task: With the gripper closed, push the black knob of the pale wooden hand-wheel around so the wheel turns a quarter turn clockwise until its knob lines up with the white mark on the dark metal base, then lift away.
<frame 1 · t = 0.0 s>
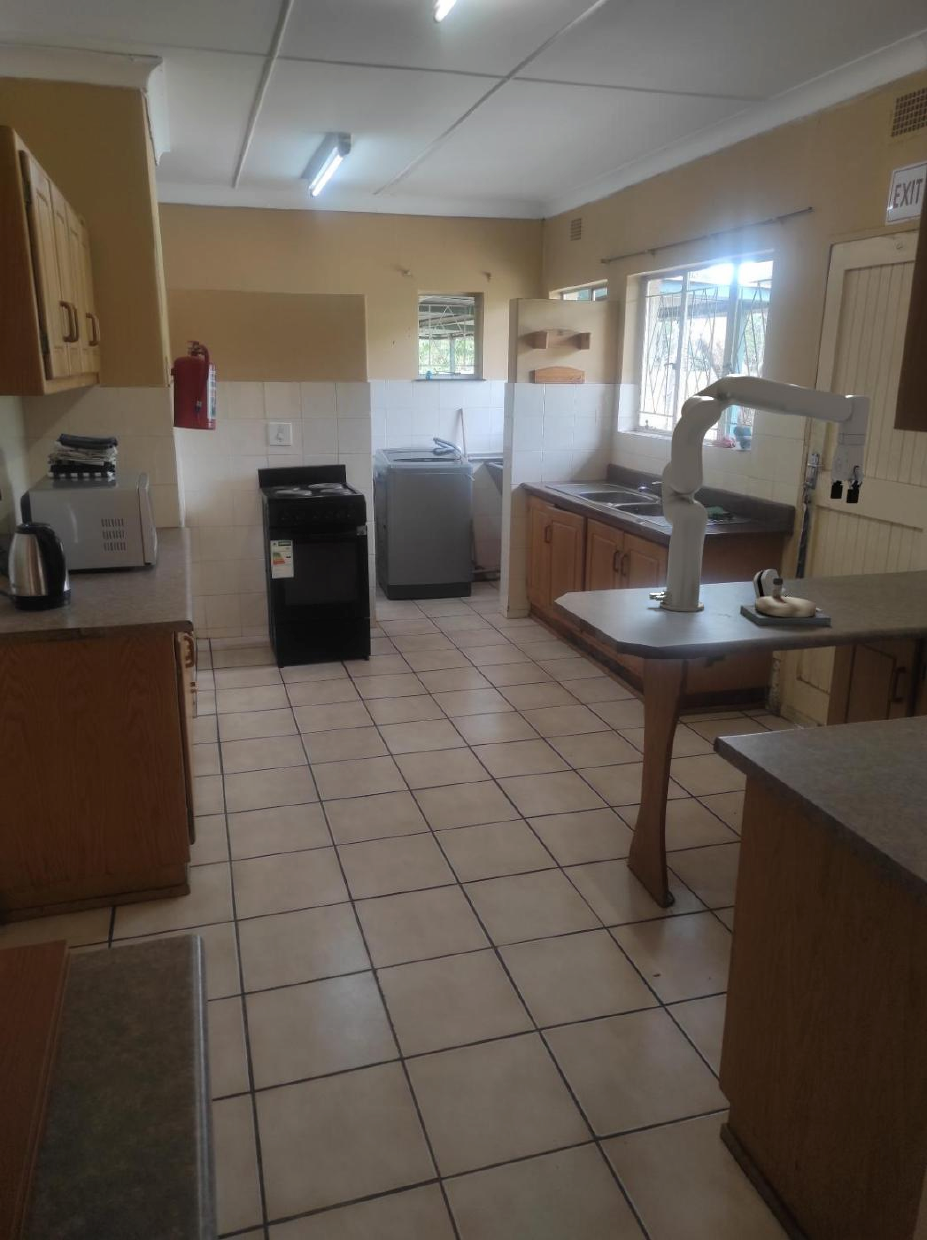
hand: (843, 500, 251), 31 cm above the table, tool pointing down, fingers open, 9 cm apart
wheel: (786, 595, 243), point 7 cm above the table, hinge at 0.0°
wheel base: (783, 618, 245), on the table
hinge: (768, 599, 268), on the table
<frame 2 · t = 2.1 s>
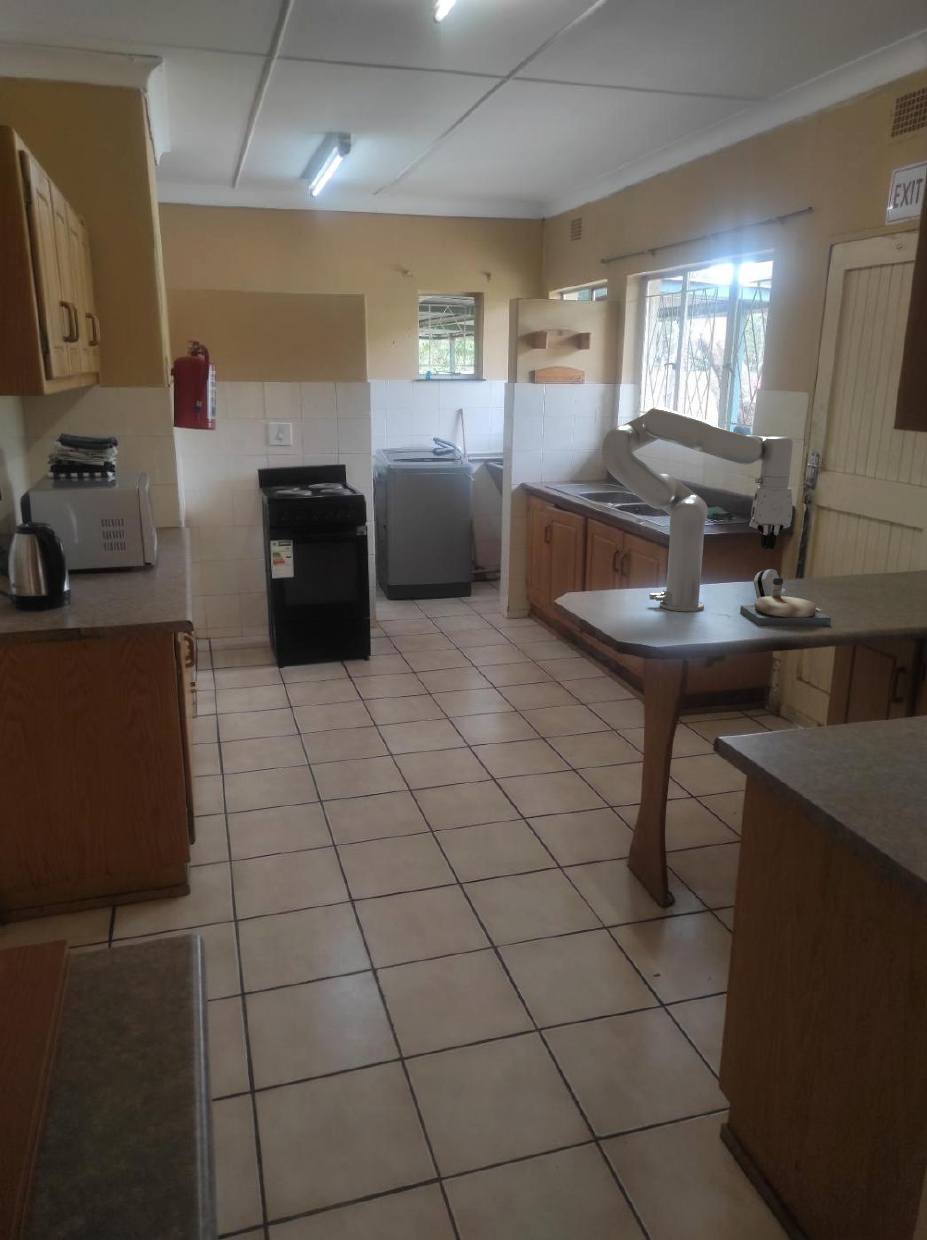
hand: (767, 548, 245), 19 cm above the table, tool pointing down, fingers closed
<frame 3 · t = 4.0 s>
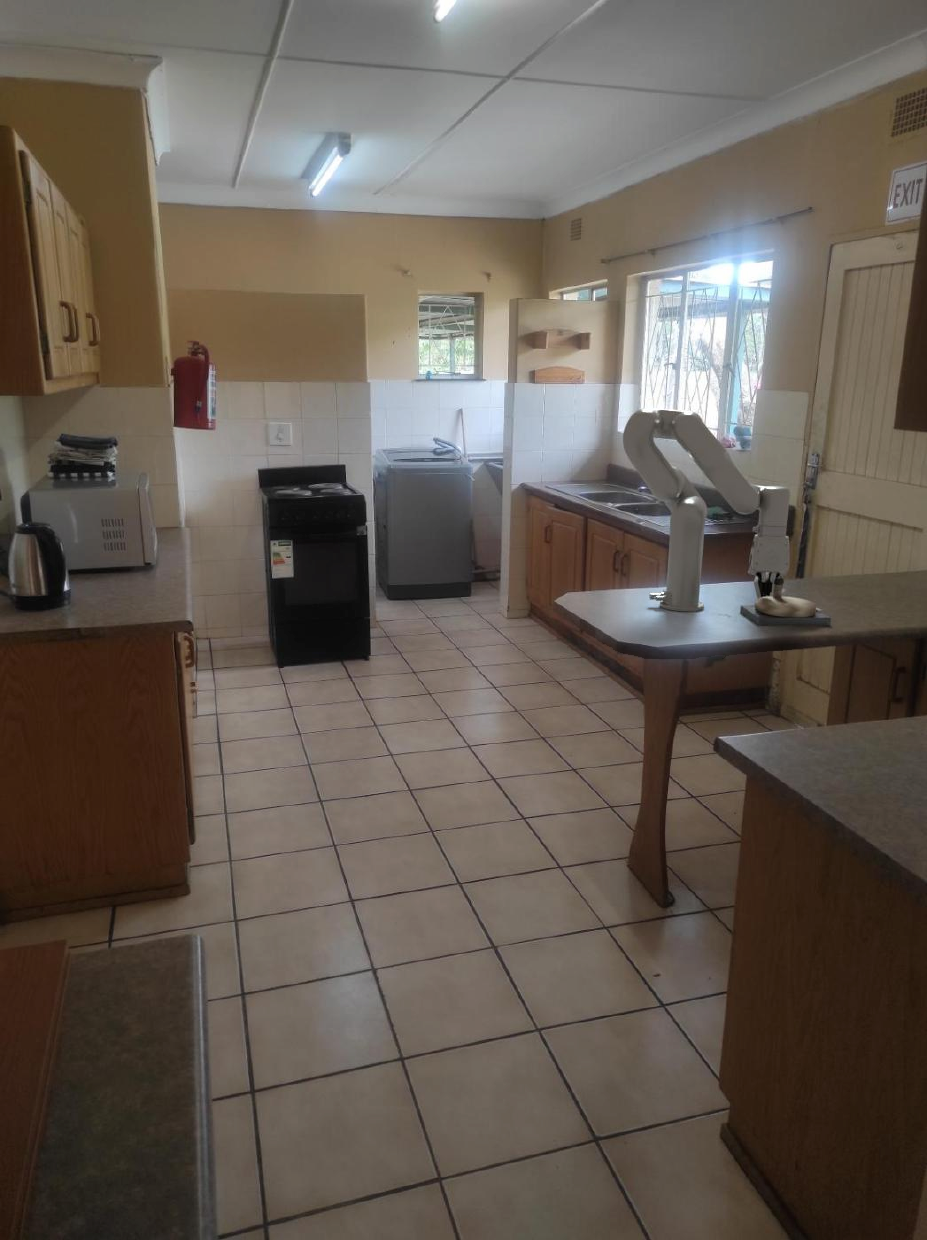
hand: (765, 594, 249), 6 cm above the table, tool pointing down, fingers closed
wheel: (786, 595, 243), point 7 cm above the table, hinge at 1.7°, touching gripper
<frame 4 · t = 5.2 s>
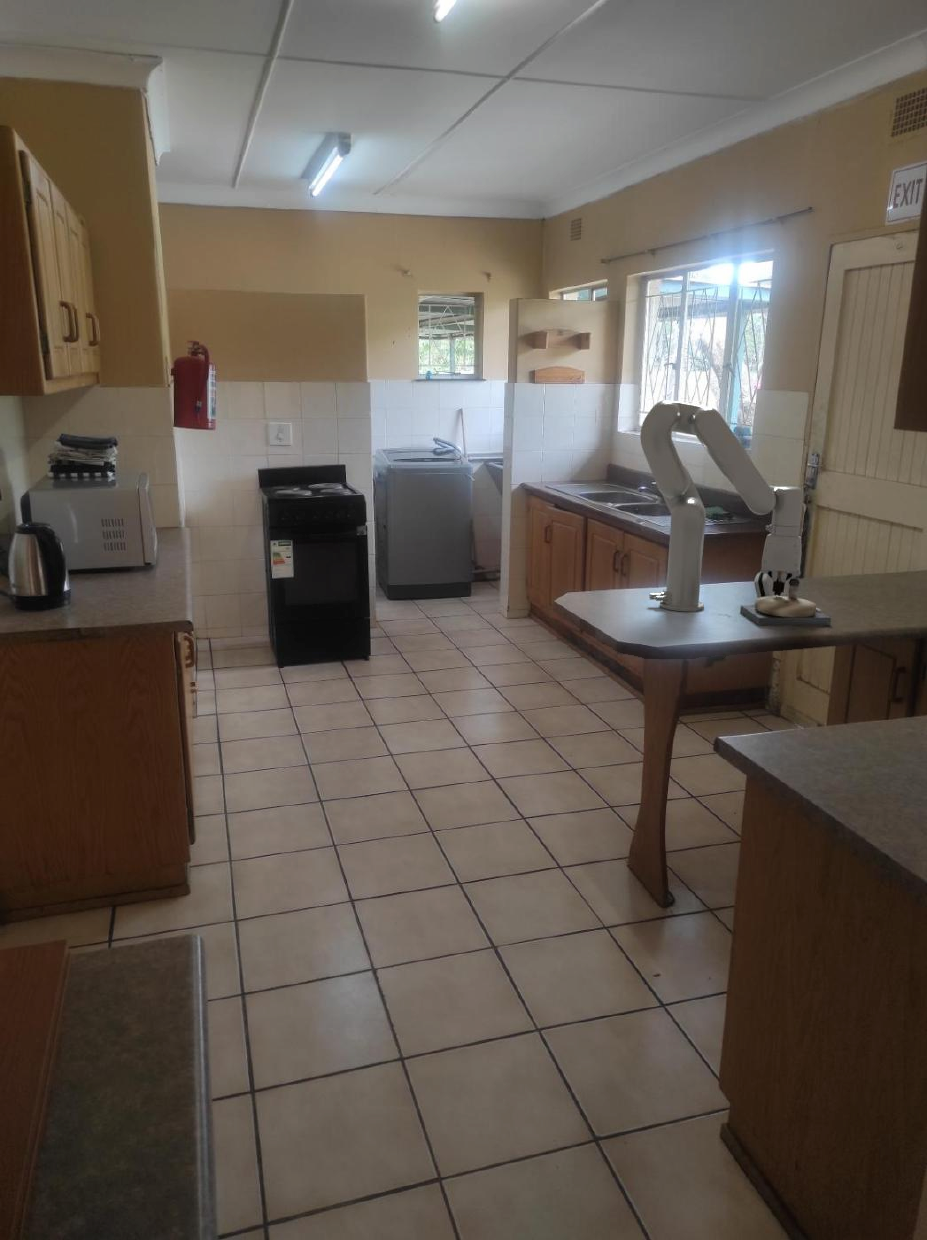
hand: (777, 594, 250), 5 cm above the table, tool pointing down, fingers closed
wheel: (786, 595, 243), point 7 cm above the table, hinge at 39.0°, touching gripper
everything else where it was.
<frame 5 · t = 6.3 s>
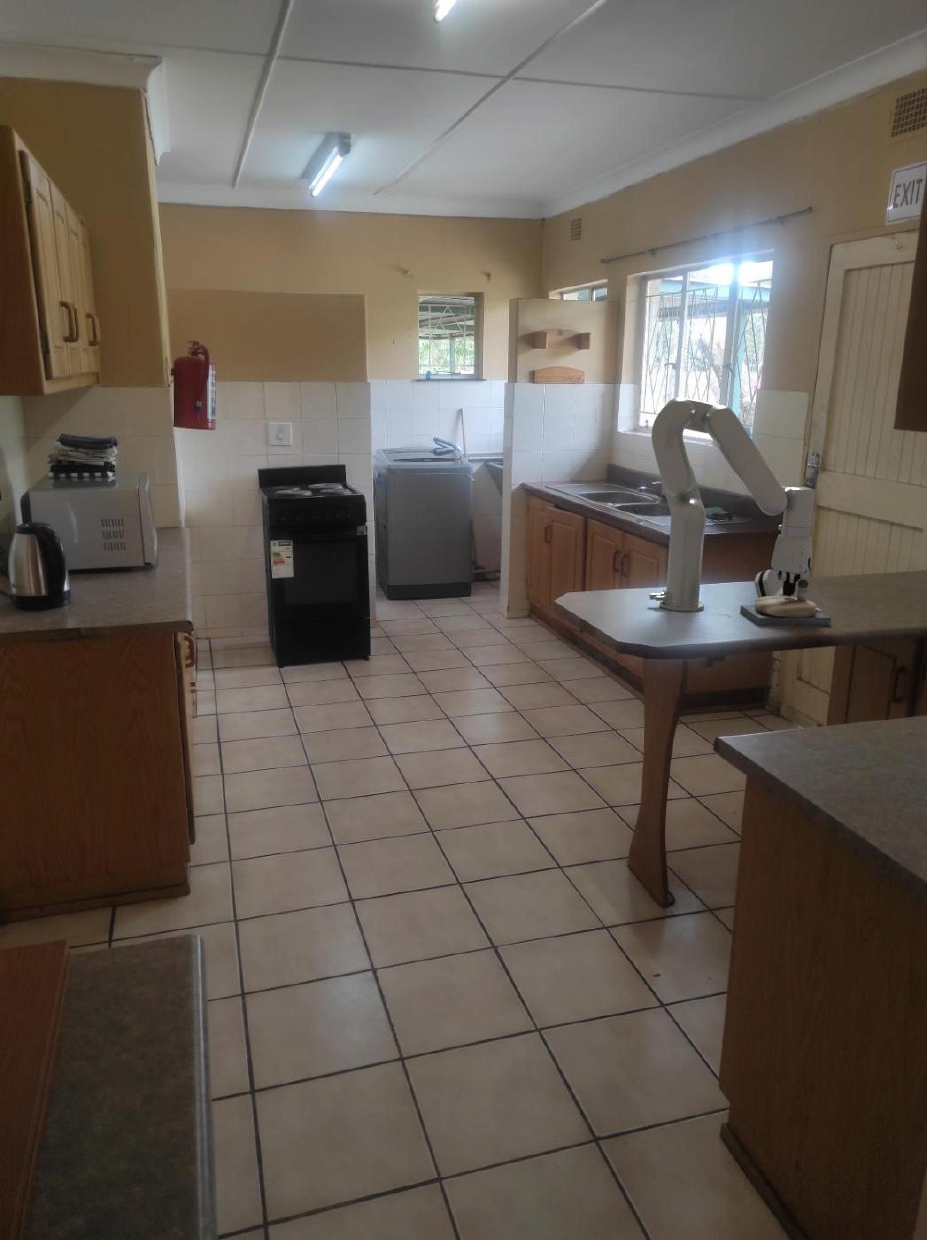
hand: (788, 595, 250), 5 cm above the table, tool pointing down, fingers closed
wheel: (786, 595, 243), point 7 cm above the table, hinge at 62.5°, touching gripper
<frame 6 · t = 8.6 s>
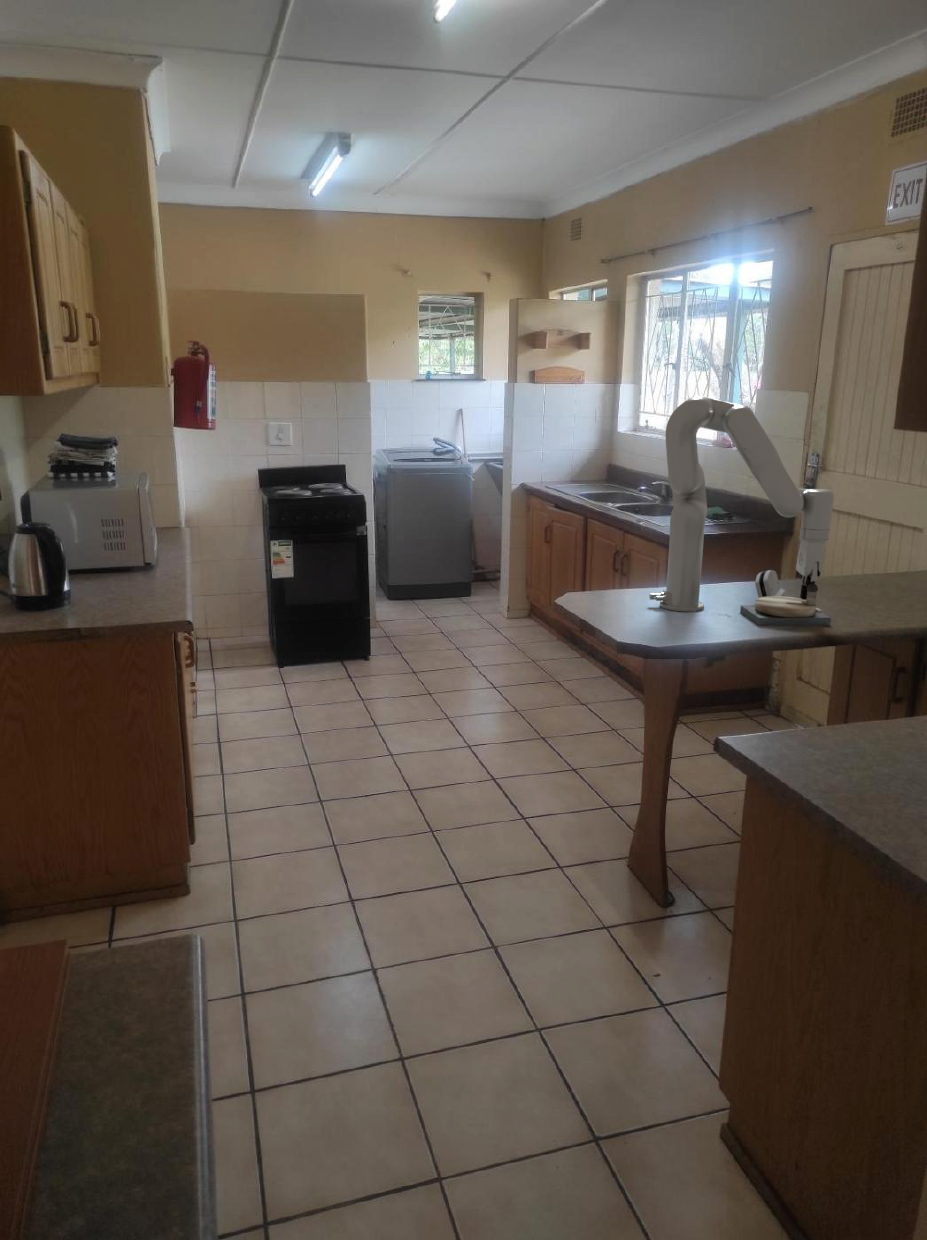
hand: (806, 598, 245), 5 cm above the table, tool pointing down, fingers closed
wheel: (786, 595, 243), point 7 cm above the table, hinge at 110.8°, touching gripper
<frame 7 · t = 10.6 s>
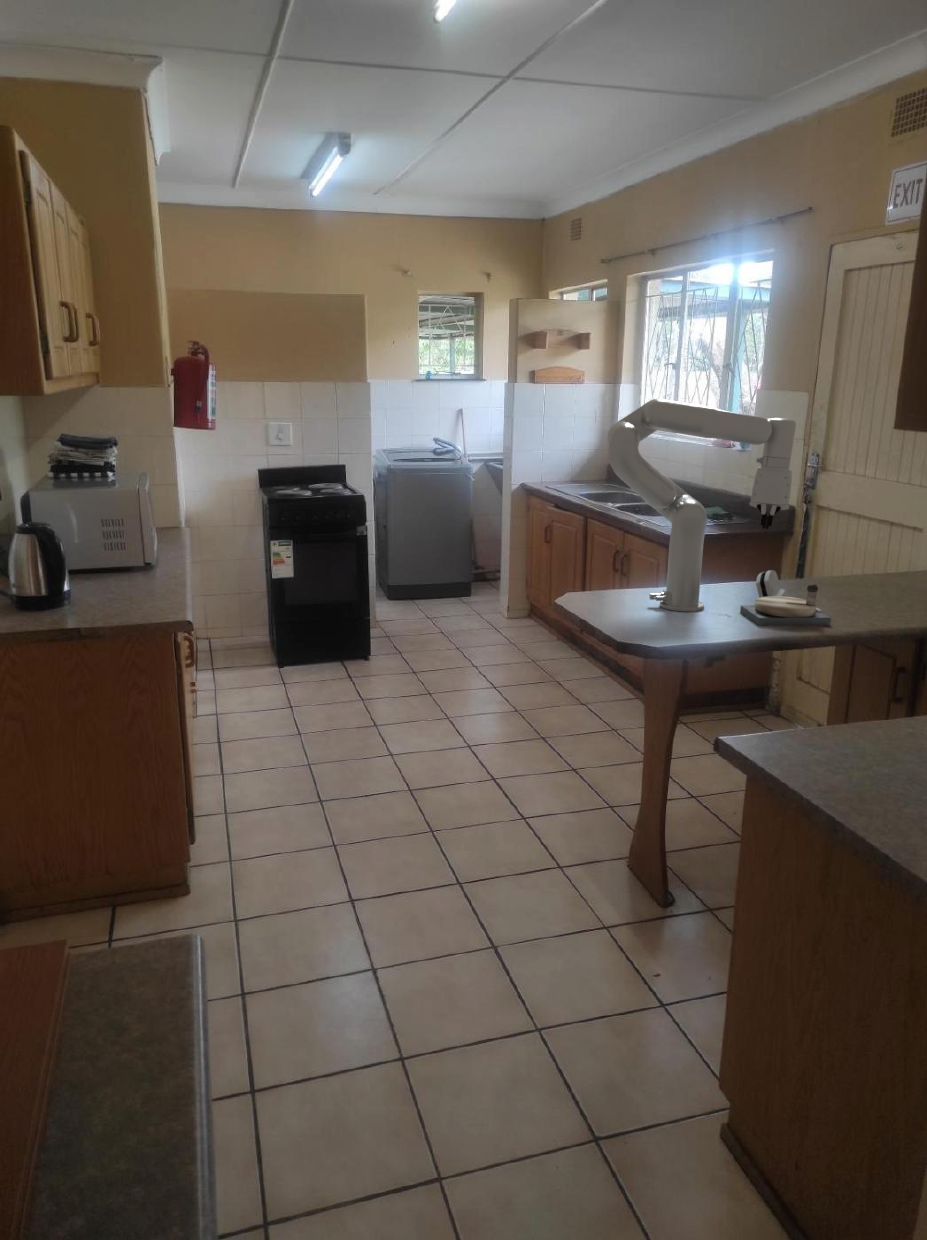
hand: (765, 528, 249), 24 cm above the table, tool pointing down, fingers closed
wheel: (786, 595, 243), point 7 cm above the table, hinge at 110.9°
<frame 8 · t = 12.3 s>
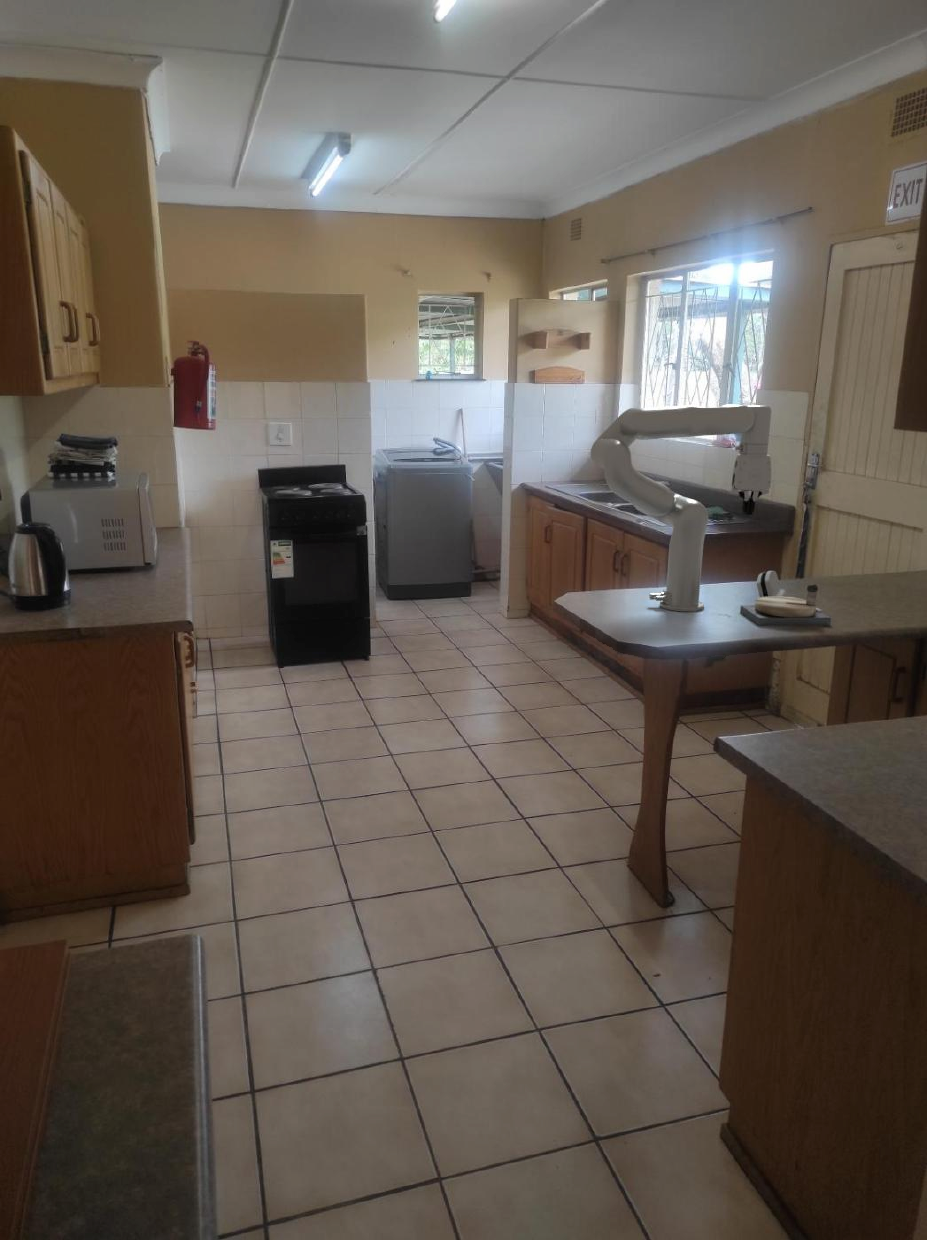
hand: (747, 514, 253), 27 cm above the table, tool pointing down, fingers closed
at the end: wheel at +111° (first picture: +0°); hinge moved 2.5 cm from its start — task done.
